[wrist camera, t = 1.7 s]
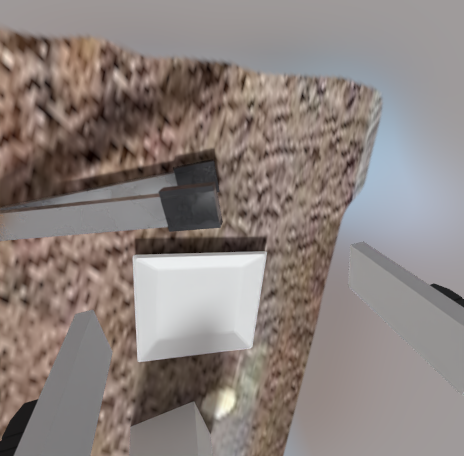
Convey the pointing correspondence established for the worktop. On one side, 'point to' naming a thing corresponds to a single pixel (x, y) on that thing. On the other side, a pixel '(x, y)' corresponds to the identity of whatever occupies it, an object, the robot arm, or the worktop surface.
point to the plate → (196, 302)
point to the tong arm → (118, 214)
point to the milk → (172, 434)
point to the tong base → (132, 186)
